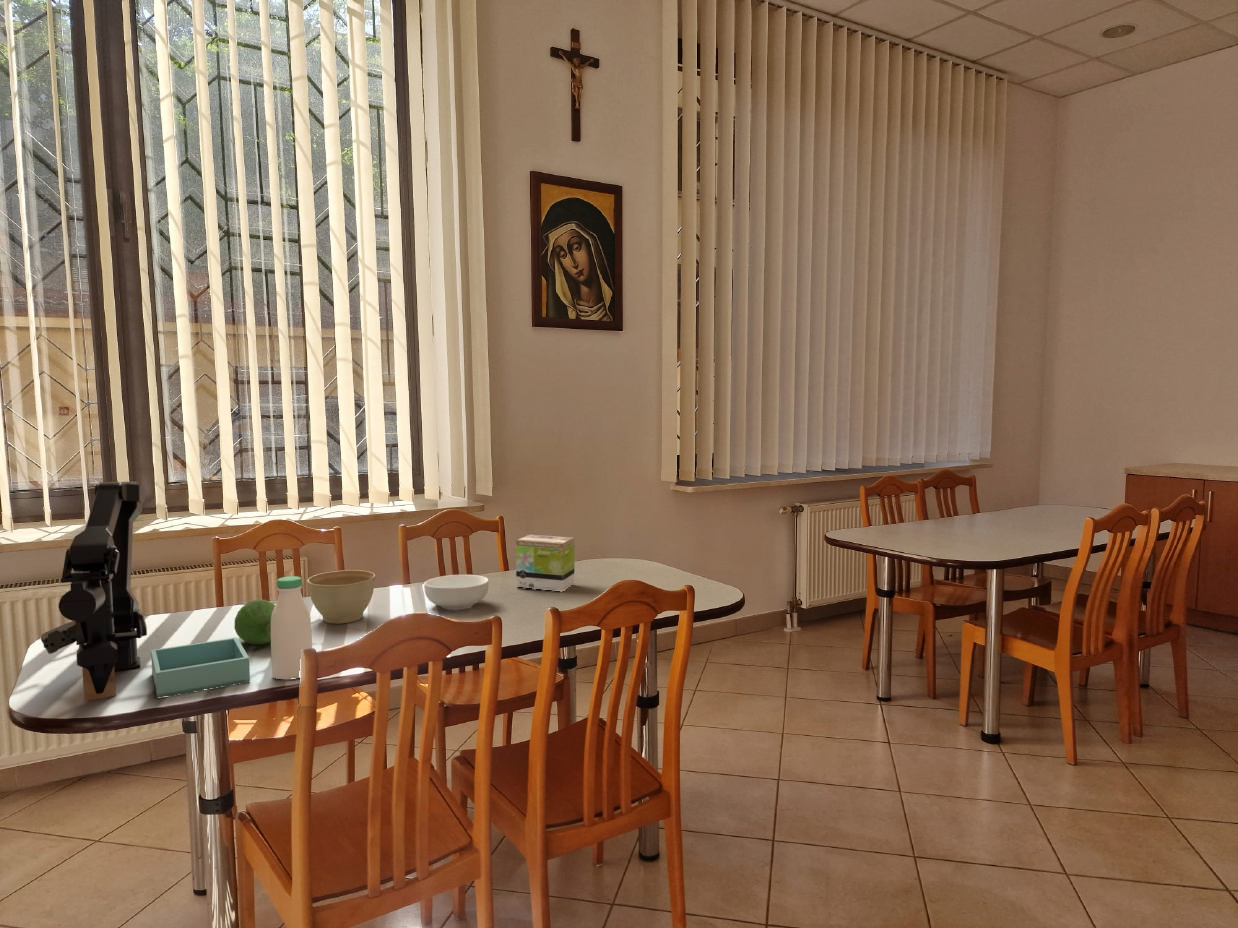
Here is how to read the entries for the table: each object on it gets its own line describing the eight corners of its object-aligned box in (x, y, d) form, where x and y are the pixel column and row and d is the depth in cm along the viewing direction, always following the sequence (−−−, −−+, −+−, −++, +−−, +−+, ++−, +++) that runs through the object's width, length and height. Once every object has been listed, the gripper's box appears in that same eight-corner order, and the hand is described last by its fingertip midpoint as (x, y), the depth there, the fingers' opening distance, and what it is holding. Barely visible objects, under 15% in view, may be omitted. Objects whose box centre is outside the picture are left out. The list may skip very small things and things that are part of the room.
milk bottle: (320, 674, 164) (316, 577, 163) (283, 684, 159) (279, 584, 157) (301, 665, 170) (298, 572, 168) (265, 675, 164) (261, 578, 162)
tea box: (515, 589, 236) (514, 539, 234) (528, 581, 245) (528, 533, 244) (563, 593, 231) (563, 542, 230) (575, 585, 241) (575, 536, 239)
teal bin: (152, 673, 164) (150, 650, 164) (238, 659, 173) (237, 637, 173) (157, 698, 151) (155, 672, 151) (250, 682, 160) (249, 657, 159)
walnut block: (84, 692, 154) (82, 662, 154) (115, 687, 157) (113, 657, 157) (84, 701, 150) (82, 669, 150) (115, 695, 153) (114, 664, 152)
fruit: (291, 649, 181) (290, 605, 180) (243, 657, 175) (241, 612, 174) (276, 632, 193) (275, 591, 192) (231, 639, 187) (229, 597, 186)
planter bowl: (305, 615, 208) (303, 573, 207) (369, 607, 215) (368, 567, 214) (312, 631, 194) (311, 587, 193) (381, 622, 201) (380, 580, 200)
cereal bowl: (495, 599, 224) (495, 574, 224) (479, 615, 208) (479, 588, 207) (436, 597, 226) (435, 572, 225) (415, 613, 209) (415, 587, 209)
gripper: (45, 602, 156) (50, 680, 157) (39, 625, 140) (45, 712, 141) (113, 594, 162) (117, 669, 163) (115, 615, 146) (119, 699, 147)
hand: (99, 686), depth 154 cm, fingers open, 7 cm apart
